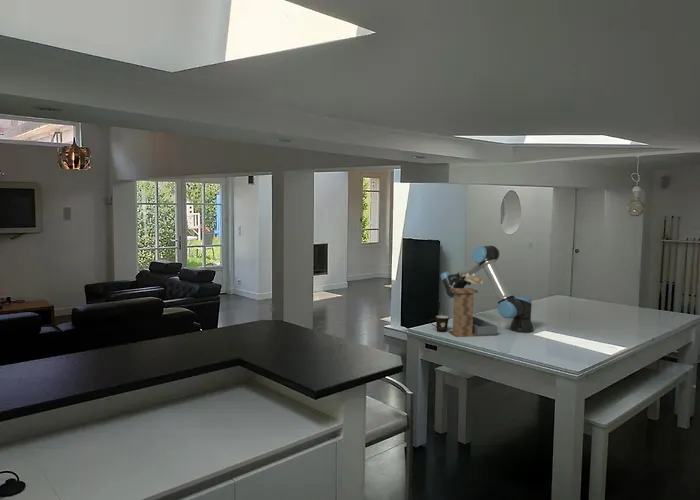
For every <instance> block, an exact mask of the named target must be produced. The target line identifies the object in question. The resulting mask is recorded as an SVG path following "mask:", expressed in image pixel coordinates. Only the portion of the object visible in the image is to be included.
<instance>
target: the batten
mask: <svg viewBox="0 0 700 500" xmlns="http://www.w3.org/2000/svg"><path fill="white" fill-rule="evenodd" d="M465 275H466V274H463V275H462V277H463V276H465ZM464 281H468V282H471V284H475V285H483V284H484V282H483V281H484V278H483V277H479V276H476V275H475V276H472V275H469V277H468V278H467V279H466V280H464Z"/></svg>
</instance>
